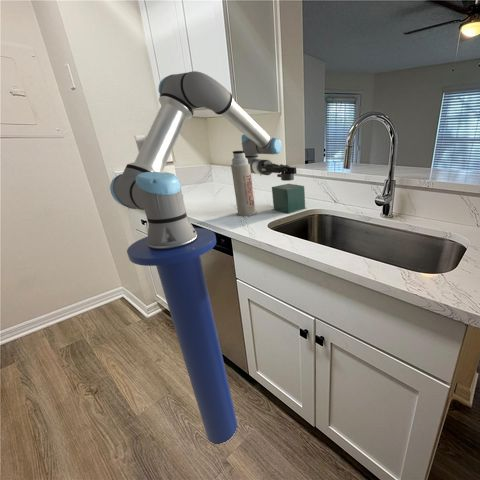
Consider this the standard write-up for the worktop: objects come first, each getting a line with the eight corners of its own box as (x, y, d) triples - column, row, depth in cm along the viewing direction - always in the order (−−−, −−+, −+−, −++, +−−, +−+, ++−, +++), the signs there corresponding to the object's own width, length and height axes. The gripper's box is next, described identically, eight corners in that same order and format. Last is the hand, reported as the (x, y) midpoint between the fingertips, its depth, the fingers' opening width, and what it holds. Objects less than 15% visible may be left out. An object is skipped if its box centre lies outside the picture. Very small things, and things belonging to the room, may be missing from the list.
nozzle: (273, 179, 125) (273, 172, 123) (283, 177, 129) (282, 171, 128) (287, 181, 119) (286, 174, 118) (296, 179, 123) (296, 172, 122)
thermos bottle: (258, 213, 123) (251, 150, 112) (244, 216, 117) (235, 151, 106) (249, 210, 128) (241, 150, 117) (234, 213, 122) (225, 151, 111)
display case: (170, 196, 160) (155, 135, 147) (181, 197, 156) (167, 135, 142) (151, 200, 151) (134, 135, 138) (163, 202, 147) (146, 135, 133)
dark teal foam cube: (271, 208, 129) (269, 186, 125) (288, 204, 136) (286, 183, 132) (288, 213, 121) (287, 189, 117) (305, 208, 129) (304, 186, 124)
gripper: (273, 173, 138) (305, 177, 123) (253, 176, 129) (284, 181, 114) (272, 158, 135) (304, 160, 121) (251, 160, 126) (283, 163, 112)
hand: (295, 170), depth 118 cm, fingers closed
